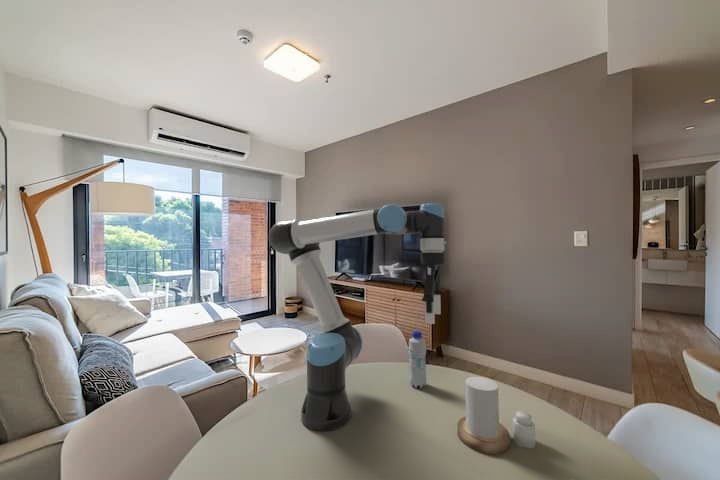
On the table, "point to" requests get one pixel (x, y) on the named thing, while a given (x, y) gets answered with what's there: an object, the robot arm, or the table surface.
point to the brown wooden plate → (484, 439)
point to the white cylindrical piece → (482, 407)
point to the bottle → (417, 360)
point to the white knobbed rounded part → (524, 430)
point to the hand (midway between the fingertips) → (433, 318)
